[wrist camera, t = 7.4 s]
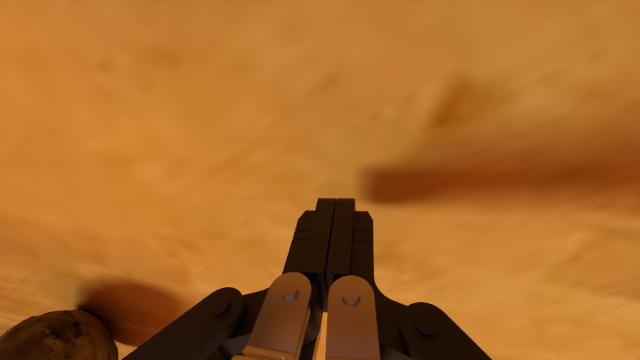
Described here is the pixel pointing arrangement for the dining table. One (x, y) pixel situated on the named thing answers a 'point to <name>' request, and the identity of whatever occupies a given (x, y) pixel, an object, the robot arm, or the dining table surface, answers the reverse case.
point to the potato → (58, 338)
